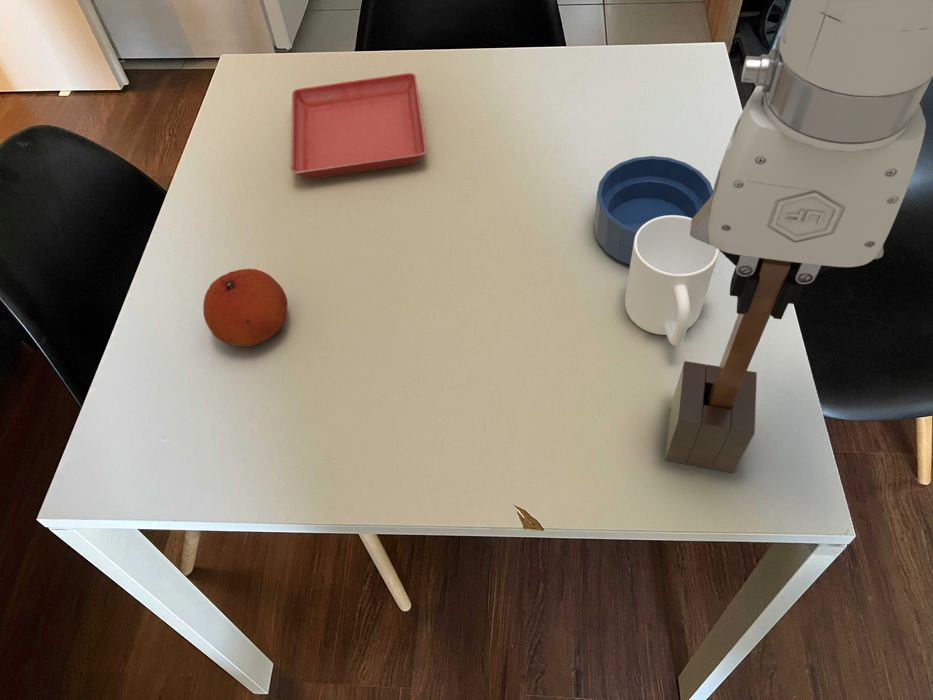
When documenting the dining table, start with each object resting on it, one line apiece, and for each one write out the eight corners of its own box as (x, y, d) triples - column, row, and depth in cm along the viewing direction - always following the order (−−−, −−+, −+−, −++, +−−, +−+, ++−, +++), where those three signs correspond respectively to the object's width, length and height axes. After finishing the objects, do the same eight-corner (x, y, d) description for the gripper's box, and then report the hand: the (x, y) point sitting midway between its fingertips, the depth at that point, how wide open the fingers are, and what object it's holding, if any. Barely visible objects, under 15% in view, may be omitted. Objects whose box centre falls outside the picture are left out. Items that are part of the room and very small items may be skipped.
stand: (736, 415, 72) (756, 372, 65) (733, 473, 68) (754, 433, 62) (670, 404, 73) (684, 360, 66) (664, 460, 70) (678, 419, 63)
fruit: (218, 366, 80) (190, 323, 74) (218, 306, 85) (192, 260, 79) (296, 350, 81) (275, 306, 74) (292, 291, 86) (272, 245, 79)
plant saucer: (430, 171, 96) (427, 152, 93) (296, 191, 96) (289, 172, 93) (418, 91, 106) (415, 71, 104) (297, 108, 106) (291, 89, 104)
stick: (728, 398, 65) (791, 247, 49) (727, 415, 64) (791, 266, 48) (708, 395, 66) (763, 243, 50) (707, 412, 65) (763, 263, 49)
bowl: (707, 200, 89) (717, 162, 84) (700, 279, 82) (710, 242, 77) (602, 188, 92) (606, 151, 87) (586, 263, 85) (589, 227, 80)
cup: (692, 277, 82) (710, 212, 74) (713, 364, 75) (735, 303, 67) (619, 280, 83) (629, 217, 74) (633, 367, 76) (645, 308, 68)
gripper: (685, 116, 38) (644, 325, 53) (1023, 144, 34) (877, 359, 49) (695, 34, 42) (655, 251, 57) (999, 53, 39) (871, 277, 54)
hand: (759, 300), depth 53 cm, fingers closed on stick, 1 cm apart
